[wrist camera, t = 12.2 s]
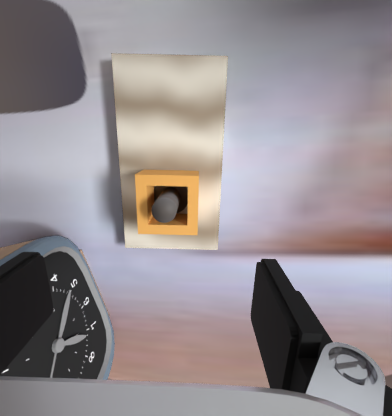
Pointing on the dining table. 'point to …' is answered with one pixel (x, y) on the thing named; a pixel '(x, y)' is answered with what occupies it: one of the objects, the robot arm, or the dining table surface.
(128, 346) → the dining table surface
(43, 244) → the alarm clock
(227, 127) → the dining table surface
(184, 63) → the peg board
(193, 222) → the orange square frame
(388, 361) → the dining table surface
